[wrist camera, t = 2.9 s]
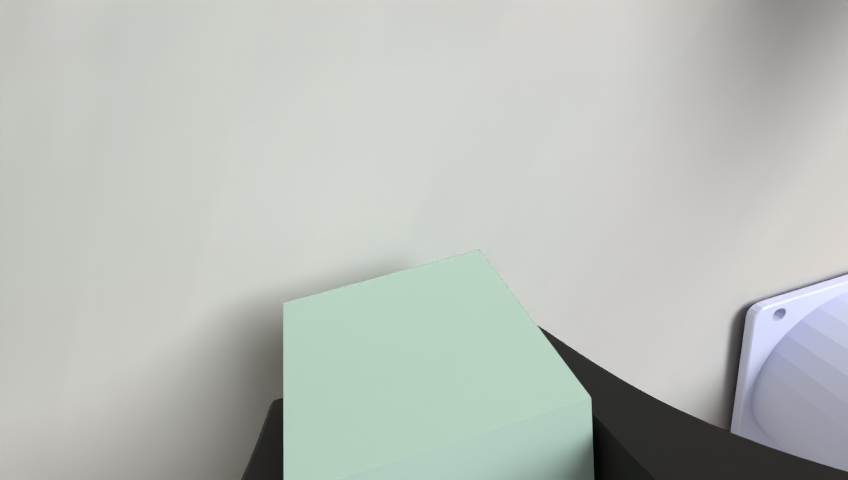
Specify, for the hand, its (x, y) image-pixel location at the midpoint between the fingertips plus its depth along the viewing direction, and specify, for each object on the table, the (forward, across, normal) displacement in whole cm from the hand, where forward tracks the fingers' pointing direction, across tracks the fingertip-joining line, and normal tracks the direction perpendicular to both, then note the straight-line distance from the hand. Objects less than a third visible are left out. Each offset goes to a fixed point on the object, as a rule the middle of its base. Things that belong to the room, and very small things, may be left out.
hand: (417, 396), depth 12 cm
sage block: (+2, 0, 0) cm, 2 cm away
